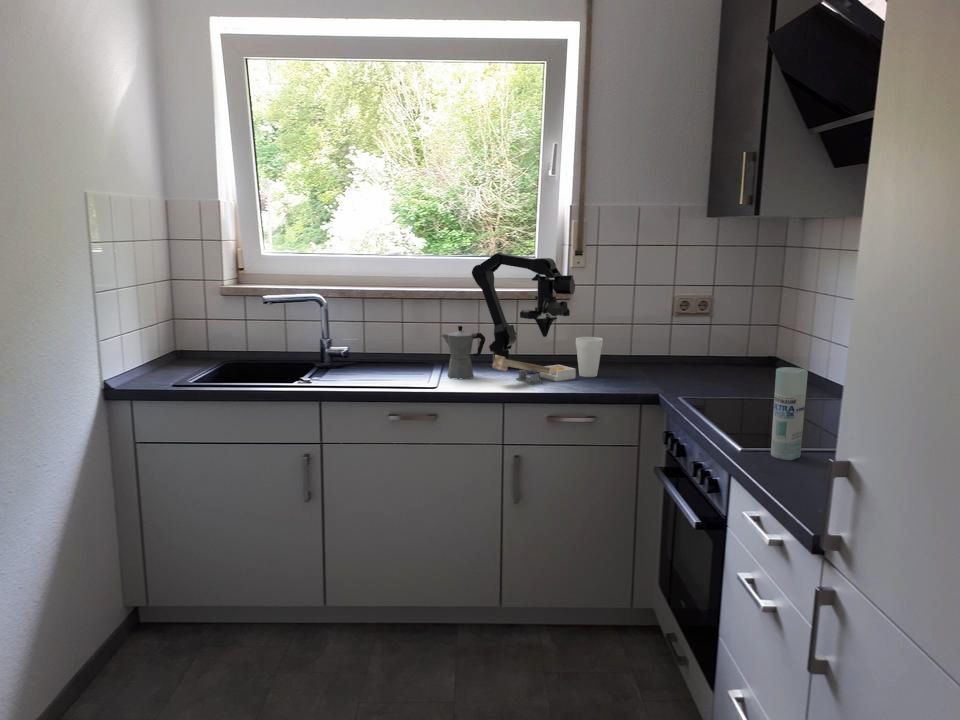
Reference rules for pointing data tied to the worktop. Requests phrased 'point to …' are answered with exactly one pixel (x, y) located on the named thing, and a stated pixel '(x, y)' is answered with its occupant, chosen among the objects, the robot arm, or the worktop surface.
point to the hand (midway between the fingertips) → (544, 336)
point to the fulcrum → (532, 380)
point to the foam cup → (588, 355)
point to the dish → (559, 373)
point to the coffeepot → (462, 352)
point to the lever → (517, 365)
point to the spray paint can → (788, 412)
